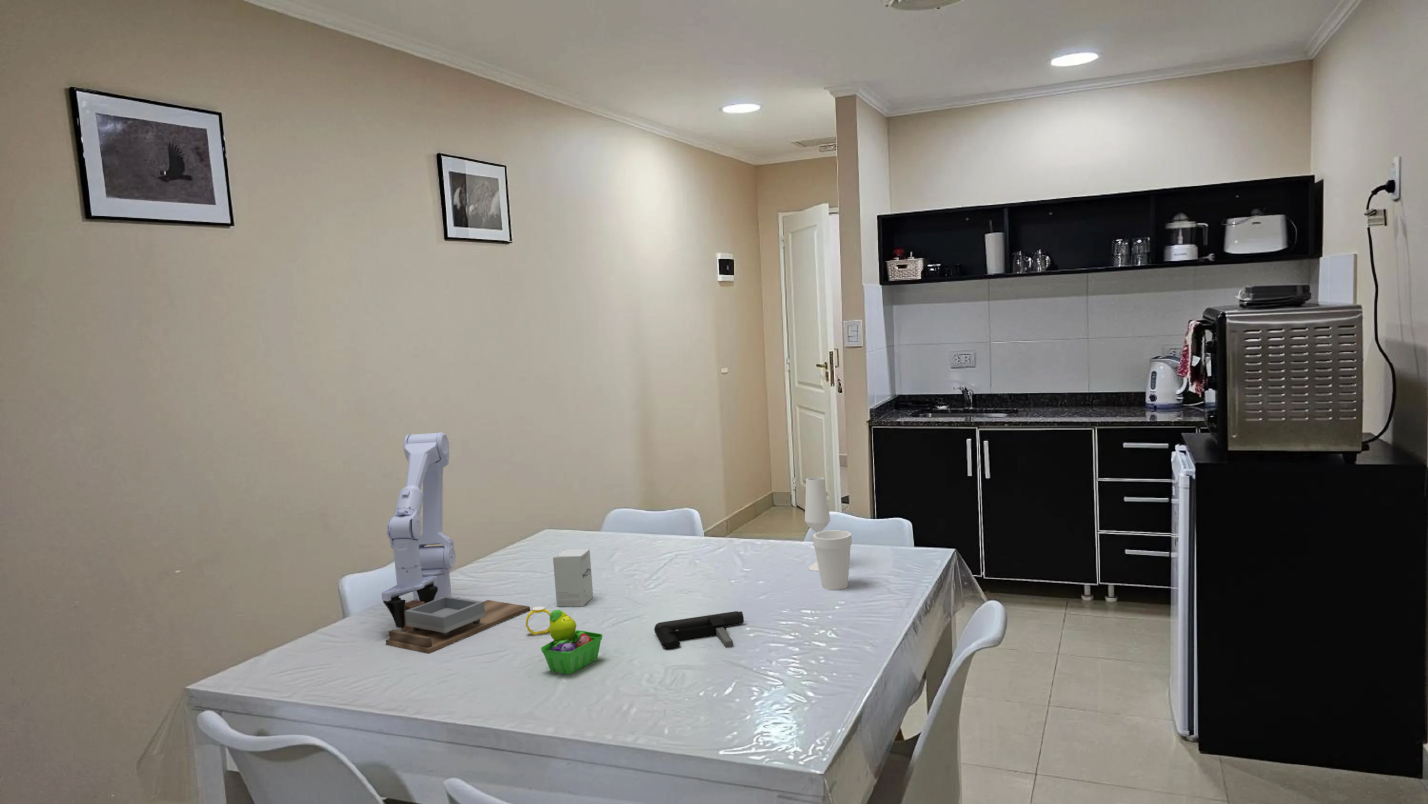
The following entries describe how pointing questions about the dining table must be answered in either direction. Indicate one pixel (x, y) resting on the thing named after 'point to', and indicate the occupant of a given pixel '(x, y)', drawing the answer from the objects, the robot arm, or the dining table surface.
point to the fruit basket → (569, 645)
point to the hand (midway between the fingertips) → (413, 621)
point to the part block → (408, 606)
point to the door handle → (697, 629)
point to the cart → (445, 614)
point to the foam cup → (833, 558)
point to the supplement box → (573, 577)
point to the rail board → (435, 640)
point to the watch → (537, 610)
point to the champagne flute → (816, 508)
